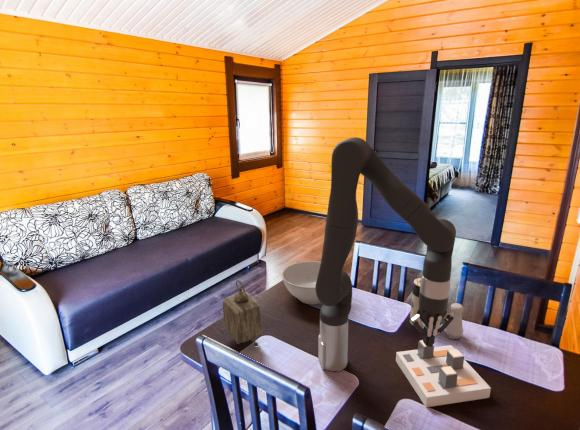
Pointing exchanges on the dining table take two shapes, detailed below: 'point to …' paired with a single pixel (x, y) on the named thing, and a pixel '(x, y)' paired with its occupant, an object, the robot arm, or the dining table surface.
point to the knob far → (425, 350)
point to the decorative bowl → (302, 280)
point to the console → (427, 374)
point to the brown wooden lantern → (242, 316)
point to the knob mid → (455, 359)
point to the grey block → (448, 377)
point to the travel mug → (415, 299)
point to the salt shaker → (455, 322)
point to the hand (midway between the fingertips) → (428, 344)
